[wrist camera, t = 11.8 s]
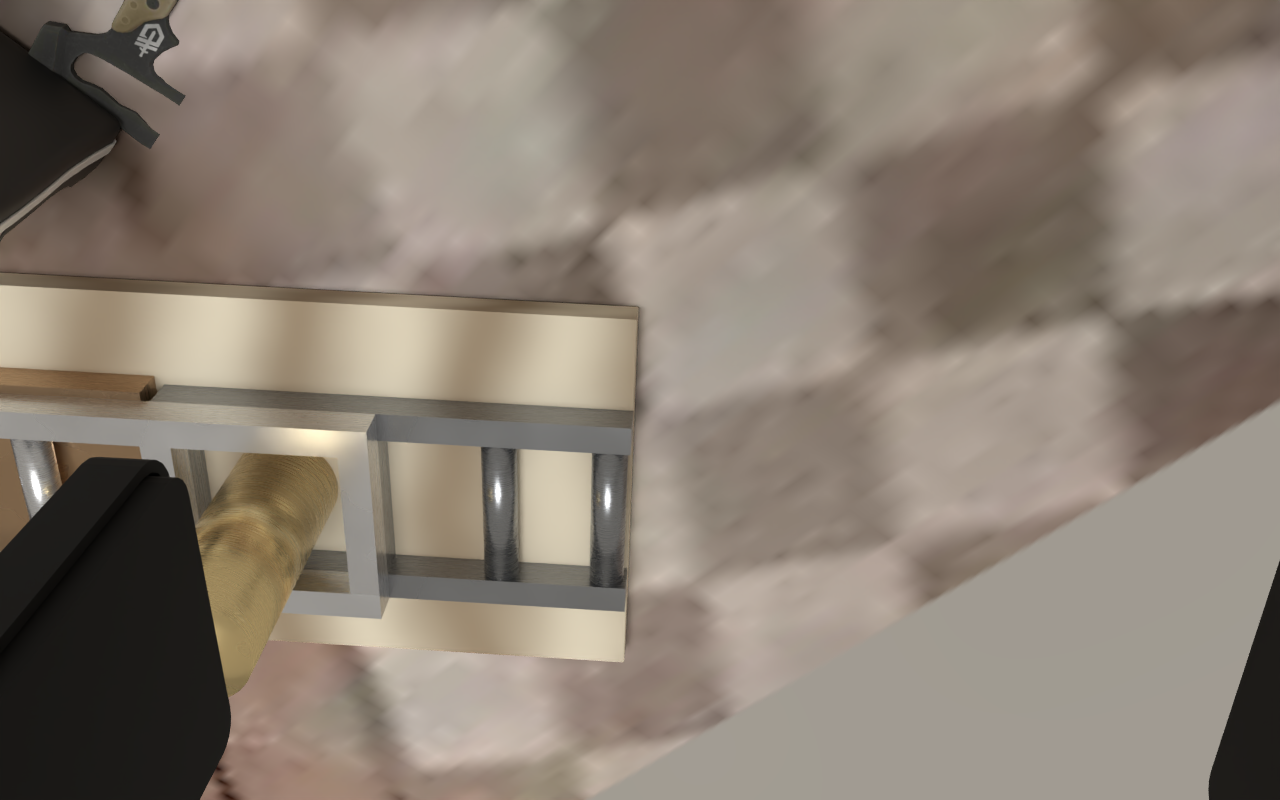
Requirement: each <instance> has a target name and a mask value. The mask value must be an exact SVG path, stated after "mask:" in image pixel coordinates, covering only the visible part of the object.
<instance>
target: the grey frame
mask: <svg viewBox="0 0 1280 800" xmlns="http://www.w3.org/2000/svg"><path fill="white" fill-rule="evenodd" d="M151 401H153V402H170V403H188V404H206V405H223V406H241V407H258V408H276V409H293V410H311V411H329V412H346V413H364V414H375V415H376V428H377V441H378V454H379V467H380V479H381V492H382V505H383V518H384V531H385V544H386V557H387V570H388V583H389V596H390V598H405V599H422V600H438V601H454V602H471V603H487V604H503V605H520V606H536V607H552V608H569V609H585V610H602V611H618V612H625V602H626V592H627V568H624V553H625V525H626V498H627V471H628V455H630V454H631V445H632V436H633V411H628V410H611V409H593V408H575V407H557V406H540V405H522V404H504V403H487V402H469V401H451V400H434V399H416V398H398V397H380V396H363V395H345V394H327V393H310V392H292V391H274V390H257V389H239V388H221V387H203V386H186V385H168V384H164V385H163V387H162V388H161V389H160V390H159V391H158V392H157V394H156V395H155V396H154V397H153V398H152V399H151ZM387 441H389V442H406V443H424V444H441V445H458V446H476V447H481V471H482V504H483V536H484V560H480V559H464V558H447V557H431V556H414V555H397V554H396V552H395V538H394V524H393V510H392V497H391V483H390V469H389V455H388V442H387ZM517 449H528V450H545V451H563V452H580V453H592V475H591V525H590V566H580V565H564V564H547V563H530V562H519V545H518V474H517ZM188 454H189V460H190V466H191V472H192V478H193V484H194V490H195V496H196V503H197V509H198V515H199V519H200V517H201V516H202V514H203V513H204V511H205V510H206V508H207V507H208V505H209V504H210V502H211V501H212V498H211V491H210V485H209V478H208V472H207V466H206V459H205V453H204V450H191V449H188ZM303 569H305V570H321V571H338V572H348V564H347V553H346V551H331V550H314V549H313V550H312V552H311V554H310V556H309V558H308V560H307V562H306V564H305V566H304V568H303Z"/></svg>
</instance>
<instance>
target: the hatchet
mask: <svg viewBox="0 0 1280 800" xmlns="http://www.w3.org/2000/svg"><path fill="white" fill-rule="evenodd" d="M177 2H178V0H124V2H123V4H122V6H121V8H120V10H119V11H118V13H117V15H116V17H115V19H114V21H113V23H112V28H111V30H109V31H108V32H107V33H103V34H91V33H82V32H73V31H70V29H69V27H68V25H67V24H63V23H57V22H51V21H49V22H47V23H46V24H44V26H43V27H42V28H41V30H40V32H39V34H38V36H37V38H36V40H35V41H34V43H33V45H32V47H31V49H30V51H29V53H28V54H29V55H30V56H32V57H33V58H35V59H36V60H37V61H39V62H40V63H42V64H43V65H44V66H46V67H47V68H49V69H50V70H51V71H53V72H55V73H57V74H58V75H60V76H61V77H62V78H64V79H65V80H66V81H68V82H69V83H70V84H72V85H73V86H74V87H76V88H77V89H78V90H80V91H81V92H82V93H84V94H85V95H86V96H87V97H89V98H90V99H91V100H93V101H94V102H95V103H97V104H98V105H99V106H101V107H102V108H103V109H104V110H106V111H107V112H108V113H110V114H111V115H112V116H113V117H114V118H116V119H117V120H118V122H119V124H120V128H121V129H123V130H124V131H125V132H127V133H128V134H129V135H131V136H132V137H133V138H135V139H136V140H137V141H139V142H140V143H141V144H143V145H145V146H146V147H148V148H151V147H152V145H153V144H154V142H155V141H156V139H157V138H158V136H159V135H160V134H158V133H157V132H155V131H154V130H152V129H151V128H150V127H149V126H148V125H147V123H146V122H145V121H144V120H143V119H142V118H141V117H140V116H139V114H138V113H137V112H135V111H133V110H131V109H129V108H127V107H125V106H122V105H120V104H119V103H118V102H117V101H116V100H115V99H114V98H113V97H112V96H110V95H109V94H108V93H107V92H106V91H105V90H104V89H103V88H101V87H99V86H97V85H95V84H92V83H90V82H87V81H84V80H83V79H81V78H80V77H79V76H78V75H77V74H76V72H75V70H74V62H75V60H76V59H77V57H78V56H79V55H81V54H83V53H90V54H93V55H95V56H97V57H99V58H101V59H104V60H105V61H107V62H109V63H111V64H112V65H114V66H116V67H117V68H119V69H121V70H123V71H124V72H126V73H128V74H130V75H131V76H133V77H135V78H136V79H138V80H139V81H141V82H143V83H144V84H146V85H148V86H149V87H151V88H153V89H154V90H156V91H158V92H159V93H161V94H163V95H164V96H166V97H167V98H169V99H170V100H172V101H173V102H175V103H176V104H178V105H180V104H181V102H182V101H183V99H184V98H185V95H183V94H182V93H180V92H179V91H177V90H175V89H174V88H172V87H171V86H170V85H168V84H167V83H165V81H164V80H163V79H162V78H161V77H159V76H158V75H157V74H156V72H155V71H154V66H153V63H154V60H155V59H156V58H157V57H158V56H159V55H160V54H161V53H162V52H164V51H166V50H168V49H170V48H172V47H175V46H177V45H179V40H178V39H177V37H176V36H175V35H174V34H173V32H172V30H171V27H170V25H169V14H170V12H171V11H172V9H173V8H174V6H175V5H176V3H177Z"/></svg>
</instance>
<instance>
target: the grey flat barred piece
mask: <svg viewBox="0 0 1280 800" xmlns="http://www.w3.org/2000/svg"><path fill="white" fill-rule="evenodd" d="M156 394H157V389H156V383H155V378H154V376H149V375H131V374H113V373H95V372H78V371H60V370H42V369H24V368H6V367H0V552H1V551H2V550H3V549H4V548H5V547H6V546H7V544H8V543H9V542H10V541H11V540H12V539H13V538H14V537H15V536H16V535H17V534H18V533H19V531H20V530H21V529H22V528H23V527H24V526H25V525H26V524H27V523H28V522H29V521H30V519H31V518H32V517H33V516H34V515H35V514H36V513H37V512H38V511H39V510H40V509H41V507H42V506H43V505H44V504H45V503H46V502H47V501H48V500H49V499H50V498H51V497H52V496H53V494H54V493H55V492H56V491H57V490H58V489H59V488H60V487H61V486H62V485H63V484H64V482H65V481H66V480H67V479H68V478H69V477H70V476H71V475H72V474H73V473H74V472H75V471H76V469H77V468H78V467H79V466H80V465H81V464H82V463H83V462H85V461H86V460H87V459H89V458H92V457H112V458H131V459H150V460H158V461H159V462H161V463H163V464H164V466H165V467H166V469H167V471H168V473H169V476H170V477H178V478H180V479H182V480H183V481H184V483H185V484H186V486H187V489H188V492H189V496H190V502H191V507H192V512H193V517H194V522H195V525H196V523H197V522H198V520H199V515H198V509H197V503H196V496H195V490H194V484H193V478H192V472H191V466H190V460H189V454H188V449H191V450H209V451H226V452H243V453H260V454H278V455H295V456H312V457H329V458H337V460H338V470H339V480H340V491H341V501H342V512H343V522H344V532H345V543H346V553H347V564H348V572H338V571H321V570H305V569H303V570H302V572H301V574H300V576H299V578H298V580H297V582H296V584H295V587H294V589H293V591H292V593H291V595H290V597H289V599H288V601H287V603H286V605H285V607H284V609H283V611H282V613H292V614H308V615H324V616H340V617H356V618H373V619H382V616H383V614H384V611H385V608H386V606H387V603H388V601H389V598H390V596H389V583H388V570H387V557H386V544H385V531H384V518H383V505H382V492H381V479H380V467H379V454H378V441H377V428H376V415H375V414H364V413H346V412H329V411H311V410H293V409H276V408H258V407H241V406H223V405H206V404H188V403H170V402H153V401H151V399H152V398H153V397H154V396H155V395H156Z"/></svg>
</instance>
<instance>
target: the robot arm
mask: <svg viewBox="0 0 1280 800" xmlns="http://www.w3.org/2000/svg"><path fill="white" fill-rule="evenodd" d="M230 726H231V712H230V704H229V699H228V694H227V689H226V684H225V678H224V673H223V668H222V663H221V658H220V652H219V647H218V642H217V637H216V632H215V626H214V621H213V616H212V611H211V606H210V600H209V595H208V590H207V585H206V580H205V574H204V569H203V564H202V559H201V554H200V548H199V543H198V538H197V533H196V528H195V522H194V517H193V512H192V507H191V502H190V496H189V492H188V489H187V486H186V484H185V483H184V481H183V480H182V479H180V478H178V477H170V476H169V473H168V471H167V469H166V467H165V466H164V464H163V463H161V462H159V461H158V460H150V459H131V458H112V457H92V458H89V459H87V460H86V461H85V462H83V463H82V464H81V465H80V466H79V467H78V468H77V469H76V471H75V472H74V473H73V474H72V475H71V476H70V477H69V478H68V479H67V480H66V481H65V482H64V484H63V485H62V486H61V487H60V488H59V489H58V490H57V491H56V492H55V493H54V494H53V496H52V497H51V498H50V499H49V500H48V501H47V502H46V503H45V504H44V505H43V506H42V507H41V509H40V510H39V511H38V512H37V513H36V514H35V515H34V516H33V517H32V518H31V519H30V521H29V522H28V523H27V524H26V525H25V526H24V527H23V528H22V529H21V530H20V531H19V533H18V534H17V535H16V536H15V537H14V538H13V539H12V540H11V541H10V542H9V543H8V544H7V546H6V547H5V548H4V549H3V550H2V551H1V552H0V800H200V798H201V796H202V794H203V792H204V790H205V788H206V786H207V784H208V782H209V781H210V779H211V777H212V775H213V773H214V771H215V769H216V767H217V765H218V763H219V761H220V759H221V757H222V755H223V753H224V751H225V748H226V745H227V742H228V738H229V733H230ZM1209 800H1280V562H1279V565H1278V568H1277V571H1276V574H1275V577H1274V580H1273V583H1272V586H1271V589H1270V592H1269V595H1268V598H1267V601H1266V605H1265V608H1264V611H1263V614H1262V617H1261V620H1260V623H1259V626H1258V629H1257V632H1256V635H1255V638H1254V641H1253V644H1252V647H1251V650H1250V653H1249V657H1248V660H1247V663H1246V666H1245V669H1244V672H1243V675H1242V678H1241V681H1240V684H1239V687H1238V690H1237V693H1236V696H1235V699H1234V702H1233V706H1232V709H1231V712H1230V715H1229V718H1228V721H1227V724H1226V727H1225V730H1224V733H1223V736H1222V739H1221V742H1220V746H1219V748H1218V752H1217V755H1216V758H1215V761H1214V764H1213V767H1212V770H1211V774H1210V779H1209Z"/></svg>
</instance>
